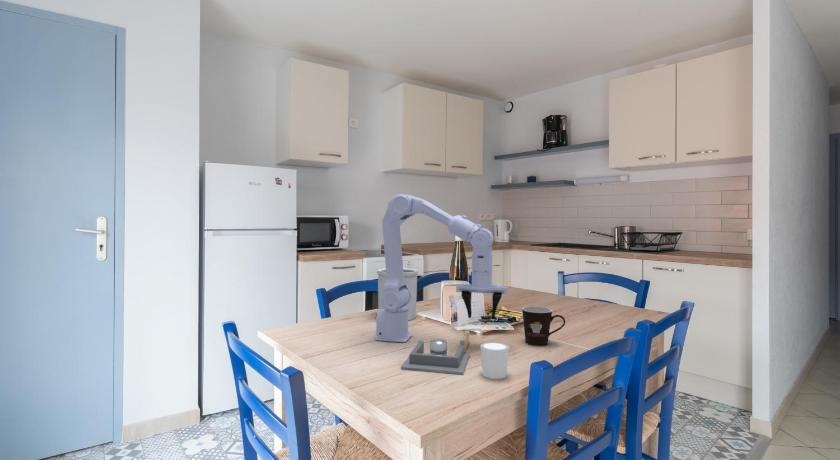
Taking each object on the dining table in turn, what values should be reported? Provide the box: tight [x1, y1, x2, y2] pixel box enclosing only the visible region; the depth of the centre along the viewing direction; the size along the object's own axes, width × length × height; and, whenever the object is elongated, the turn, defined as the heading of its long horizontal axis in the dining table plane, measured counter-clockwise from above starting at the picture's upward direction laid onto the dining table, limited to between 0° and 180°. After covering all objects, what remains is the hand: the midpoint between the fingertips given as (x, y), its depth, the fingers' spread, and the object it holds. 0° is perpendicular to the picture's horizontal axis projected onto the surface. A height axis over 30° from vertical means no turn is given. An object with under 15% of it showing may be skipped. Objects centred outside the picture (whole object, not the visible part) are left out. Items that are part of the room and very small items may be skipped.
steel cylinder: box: [429, 338, 448, 356], centre depth 115 cm, size 4×4×5 cm
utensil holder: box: [376, 267, 419, 321], centre depth 160 cm, size 15×15×18 cm
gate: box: [459, 329, 470, 354], centre depth 124 cm, size 12×1×4 cm, turn 167°
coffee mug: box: [521, 305, 566, 347], centre depth 129 cm, size 12×9×10 cm
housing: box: [400, 340, 471, 375], centre depth 113 cm, size 15×14×3 cm
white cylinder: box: [480, 341, 510, 380], centre depth 104 cm, size 7×7×7 cm
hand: (481, 317), depth 126 cm, fingers open, 6 cm apart
